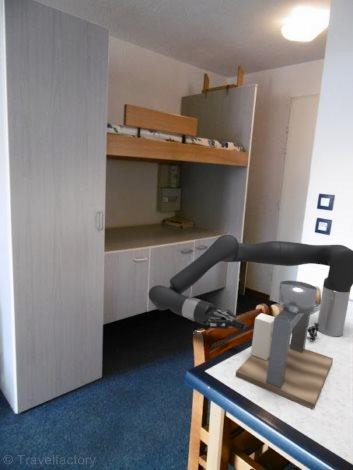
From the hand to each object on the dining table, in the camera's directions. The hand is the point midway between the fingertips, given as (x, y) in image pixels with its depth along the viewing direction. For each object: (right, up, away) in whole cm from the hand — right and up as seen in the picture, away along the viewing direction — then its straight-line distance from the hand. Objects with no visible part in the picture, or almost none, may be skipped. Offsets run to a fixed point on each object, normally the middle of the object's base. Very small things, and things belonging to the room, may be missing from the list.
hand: (244, 326), depth 104 cm
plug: (+5, -8, -2) cm, 9 cm away
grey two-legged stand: (+11, -9, -6) cm, 16 cm away
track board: (+11, -11, -6) cm, 17 cm away
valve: (+23, -8, +17) cm, 30 cm away
